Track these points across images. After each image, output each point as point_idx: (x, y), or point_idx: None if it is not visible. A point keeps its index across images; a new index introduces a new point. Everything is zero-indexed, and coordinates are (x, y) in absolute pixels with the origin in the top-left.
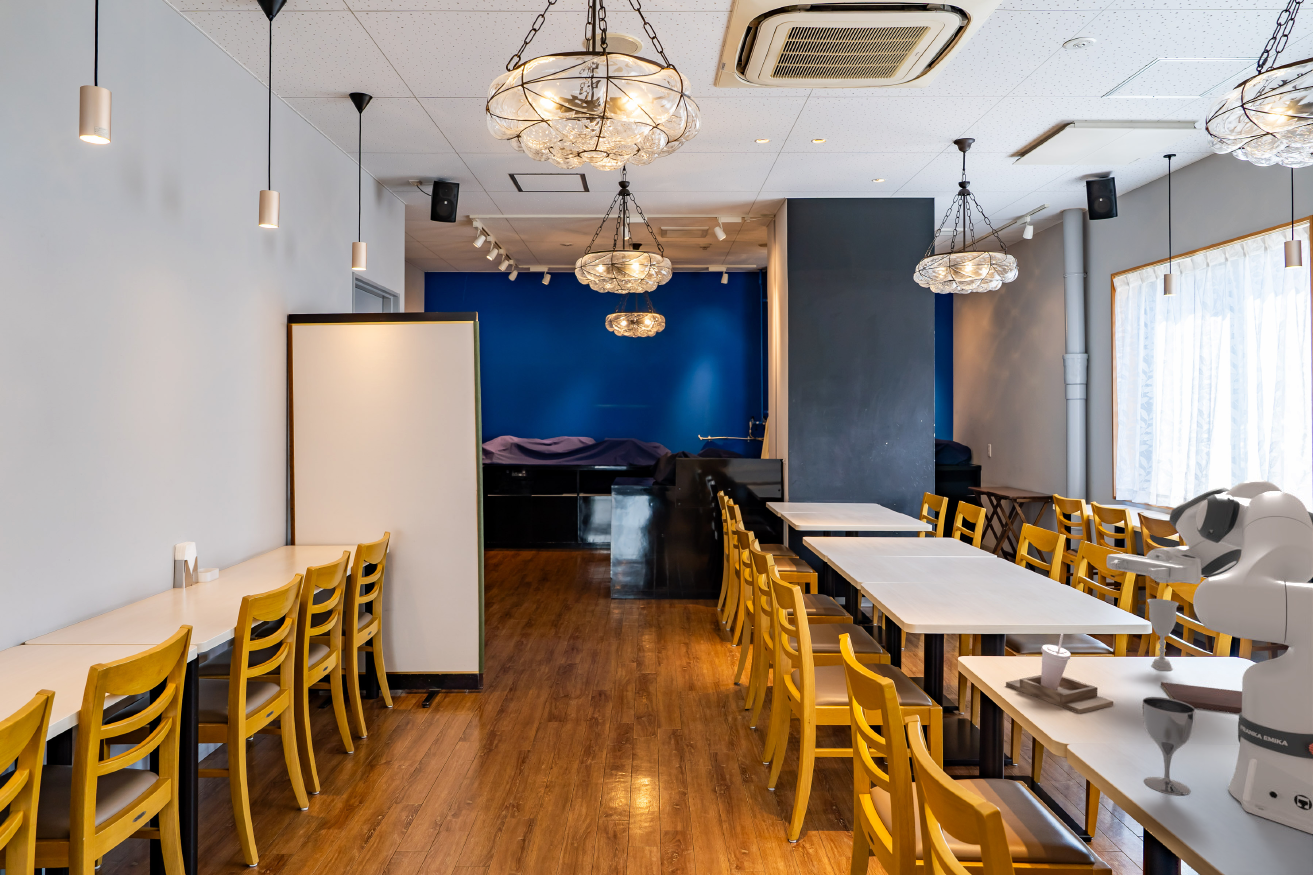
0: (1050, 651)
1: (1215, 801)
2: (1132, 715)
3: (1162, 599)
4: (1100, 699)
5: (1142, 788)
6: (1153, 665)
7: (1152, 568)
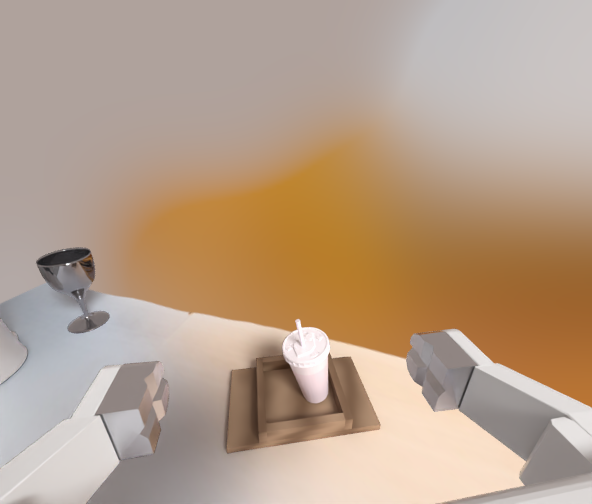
0: (303, 333)
1: (44, 331)
2: (181, 443)
3: None
4: (243, 432)
5: (107, 306)
6: None
7: (128, 399)
